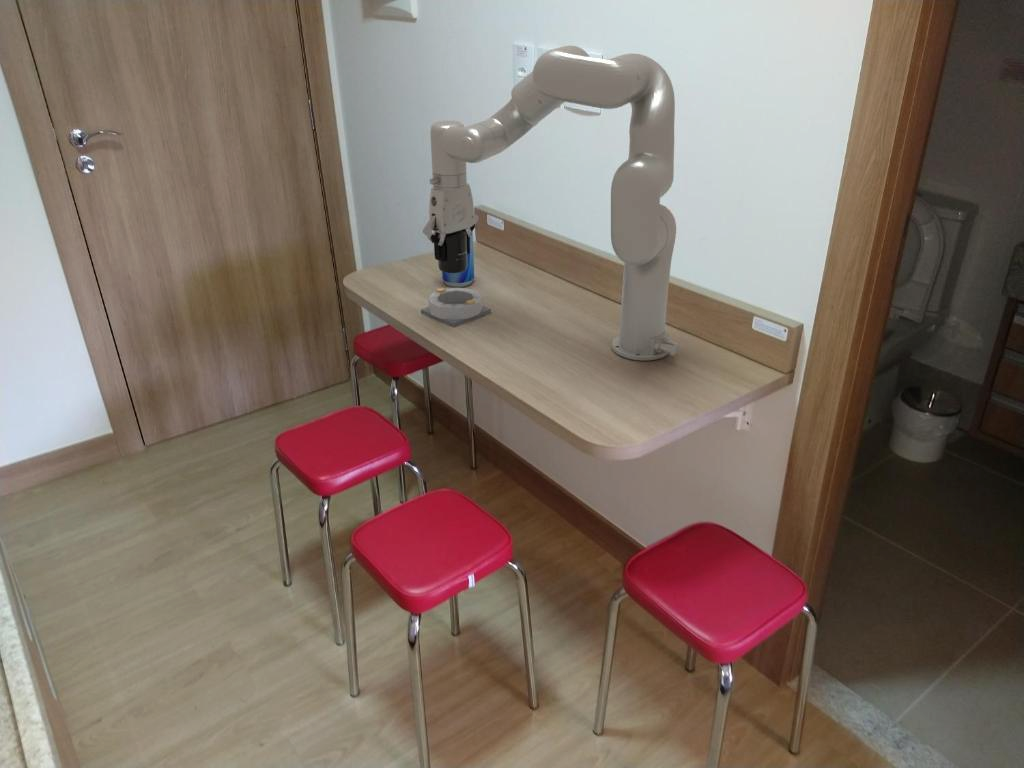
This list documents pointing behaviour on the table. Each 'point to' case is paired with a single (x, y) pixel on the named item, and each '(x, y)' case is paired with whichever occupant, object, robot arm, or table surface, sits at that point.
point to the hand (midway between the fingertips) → (452, 255)
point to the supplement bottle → (454, 252)
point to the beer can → (465, 276)
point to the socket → (455, 306)
